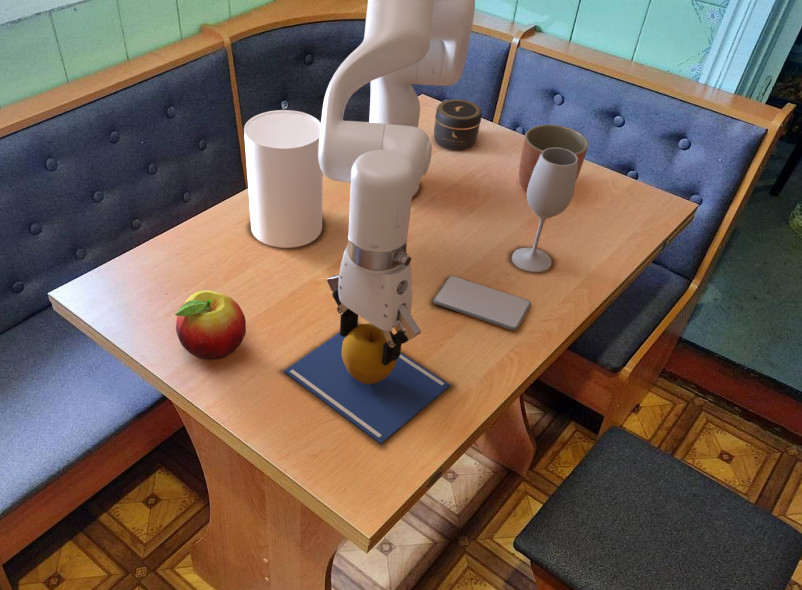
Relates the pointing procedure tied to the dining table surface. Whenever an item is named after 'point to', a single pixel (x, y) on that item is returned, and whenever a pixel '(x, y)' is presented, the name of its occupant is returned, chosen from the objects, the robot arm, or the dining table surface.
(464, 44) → the robot arm
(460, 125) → the jar
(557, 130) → the planter
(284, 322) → the dining table surface
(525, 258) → the wineglass
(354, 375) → the apple
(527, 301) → the smartphone
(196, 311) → the fruit
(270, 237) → the canister
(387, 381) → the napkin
